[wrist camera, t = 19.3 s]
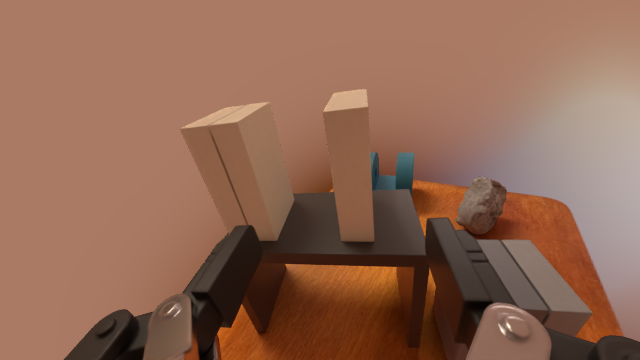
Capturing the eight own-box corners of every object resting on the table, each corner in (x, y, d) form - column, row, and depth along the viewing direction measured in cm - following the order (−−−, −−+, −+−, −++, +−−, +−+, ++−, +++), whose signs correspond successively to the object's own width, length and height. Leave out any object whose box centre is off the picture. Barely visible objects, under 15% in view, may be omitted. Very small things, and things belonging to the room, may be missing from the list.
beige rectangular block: (341, 241, 21) (322, 111, 15) (345, 198, 27) (333, 93, 21) (374, 241, 20) (368, 106, 14) (371, 197, 26) (366, 88, 20)
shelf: (257, 332, 30) (213, 252, 22) (280, 268, 38) (254, 195, 31) (419, 348, 25) (431, 255, 18) (404, 272, 34) (408, 188, 27)
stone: (504, 254, 34) (523, 200, 29) (452, 242, 37) (461, 192, 32) (499, 217, 41) (513, 167, 36) (455, 209, 44) (463, 163, 39)
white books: (231, 240, 23) (179, 128, 18) (258, 201, 29) (225, 107, 23) (276, 241, 22) (237, 121, 16) (294, 200, 28) (269, 101, 22)
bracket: (367, 185, 57) (364, 146, 52) (412, 187, 53) (414, 145, 47) (349, 235, 42) (343, 188, 37) (408, 244, 38) (411, 193, 33)
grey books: (450, 375, 23) (471, 306, 17) (432, 307, 29) (443, 239, 23) (538, 385, 21) (593, 313, 16) (499, 311, 27) (529, 239, 22)
